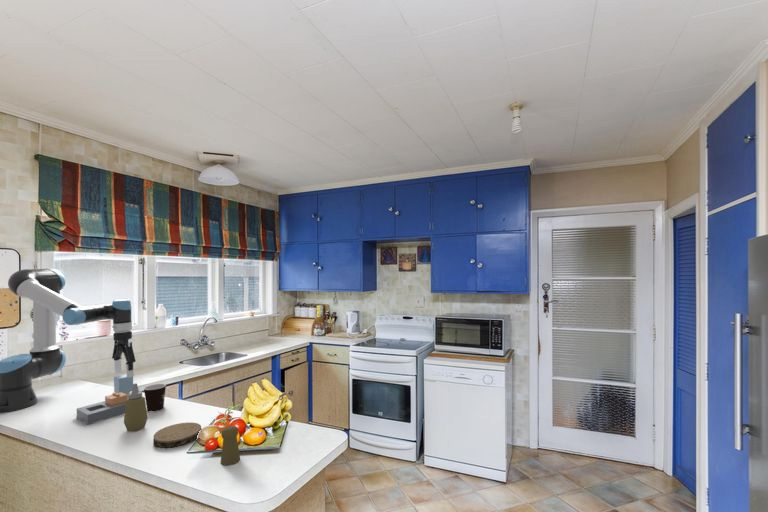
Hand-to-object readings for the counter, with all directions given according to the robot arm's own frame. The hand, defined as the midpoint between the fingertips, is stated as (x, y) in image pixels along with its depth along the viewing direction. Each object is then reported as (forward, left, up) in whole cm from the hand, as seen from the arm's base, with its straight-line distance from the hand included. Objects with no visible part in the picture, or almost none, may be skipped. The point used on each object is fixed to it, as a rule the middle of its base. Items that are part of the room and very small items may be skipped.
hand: (124, 375), depth 190 cm
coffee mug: (+26, +4, -12) cm, 29 cm away
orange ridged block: (+14, -8, -8) cm, 18 cm away
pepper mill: (+98, -6, -12) cm, 99 cm away
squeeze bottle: (+43, -12, -12) cm, 46 cm away
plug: (0, 0, -12) cm, 12 cm away
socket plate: (+14, -12, -12) cm, 22 cm away
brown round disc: (+66, -7, -13) cm, 67 cm away
